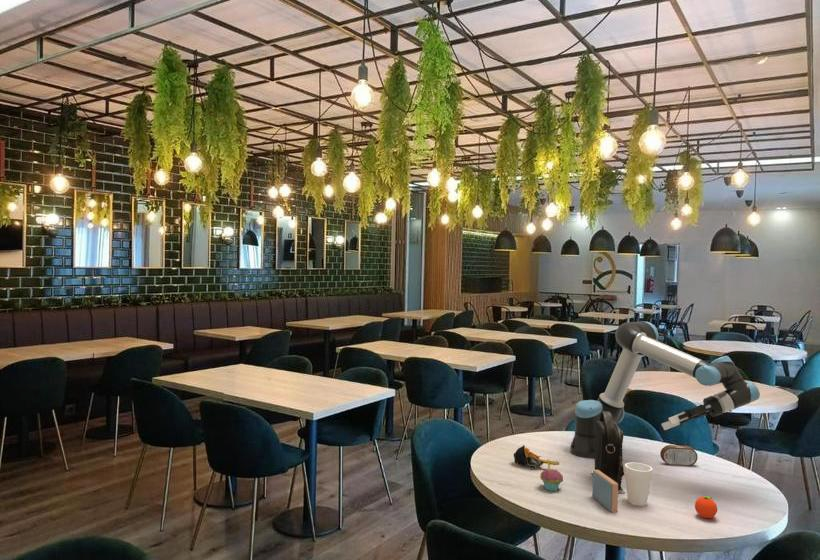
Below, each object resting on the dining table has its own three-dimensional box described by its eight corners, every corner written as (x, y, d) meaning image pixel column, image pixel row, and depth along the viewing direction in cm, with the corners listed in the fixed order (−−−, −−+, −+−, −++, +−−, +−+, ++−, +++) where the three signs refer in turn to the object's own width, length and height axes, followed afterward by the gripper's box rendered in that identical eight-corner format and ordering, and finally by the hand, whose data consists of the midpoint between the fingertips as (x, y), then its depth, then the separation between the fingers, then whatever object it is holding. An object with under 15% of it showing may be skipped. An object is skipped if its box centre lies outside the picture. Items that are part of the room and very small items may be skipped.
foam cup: (650, 499, 211) (651, 464, 211) (652, 509, 202) (653, 472, 202) (623, 495, 214) (624, 461, 214) (623, 505, 205) (624, 469, 205)
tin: (695, 464, 250) (696, 445, 250) (698, 467, 247) (698, 448, 247) (659, 462, 252) (660, 443, 252) (662, 465, 249) (662, 446, 248)
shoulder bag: (589, 471, 239) (591, 404, 239) (612, 472, 238) (614, 405, 237) (600, 491, 217) (602, 418, 216) (625, 493, 216) (627, 420, 215)
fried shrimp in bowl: (512, 449, 251) (552, 439, 248) (519, 474, 246) (560, 465, 243) (509, 446, 243) (551, 436, 239) (516, 473, 238) (559, 463, 235)
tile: (597, 496, 213) (598, 469, 213) (617, 512, 199) (618, 483, 199) (591, 496, 212) (592, 469, 212) (611, 512, 199) (612, 484, 198)
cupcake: (550, 494, 213) (551, 462, 213) (535, 486, 221) (536, 455, 220) (567, 490, 217) (568, 459, 217) (552, 482, 225) (553, 452, 224)
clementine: (700, 510, 202) (701, 490, 202) (721, 517, 197) (722, 496, 197) (690, 516, 197) (691, 496, 197) (712, 523, 192) (713, 502, 192)
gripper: (733, 407, 210) (678, 428, 211) (714, 418, 232) (664, 438, 233) (721, 388, 213) (668, 409, 214) (704, 401, 236) (655, 420, 236)
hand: (666, 424), depth 223 cm, fingers open, 13 cm apart
